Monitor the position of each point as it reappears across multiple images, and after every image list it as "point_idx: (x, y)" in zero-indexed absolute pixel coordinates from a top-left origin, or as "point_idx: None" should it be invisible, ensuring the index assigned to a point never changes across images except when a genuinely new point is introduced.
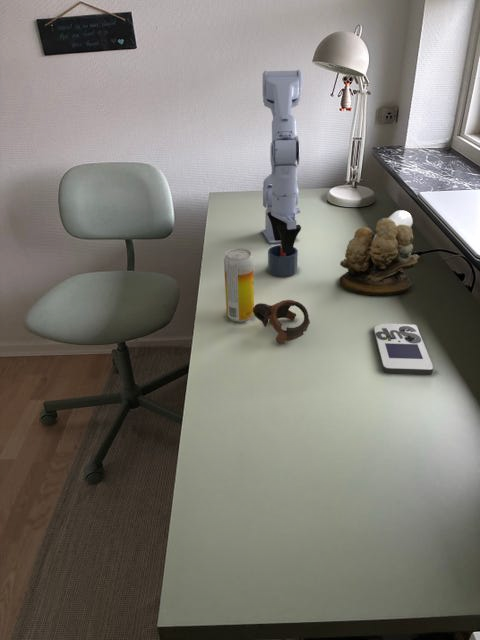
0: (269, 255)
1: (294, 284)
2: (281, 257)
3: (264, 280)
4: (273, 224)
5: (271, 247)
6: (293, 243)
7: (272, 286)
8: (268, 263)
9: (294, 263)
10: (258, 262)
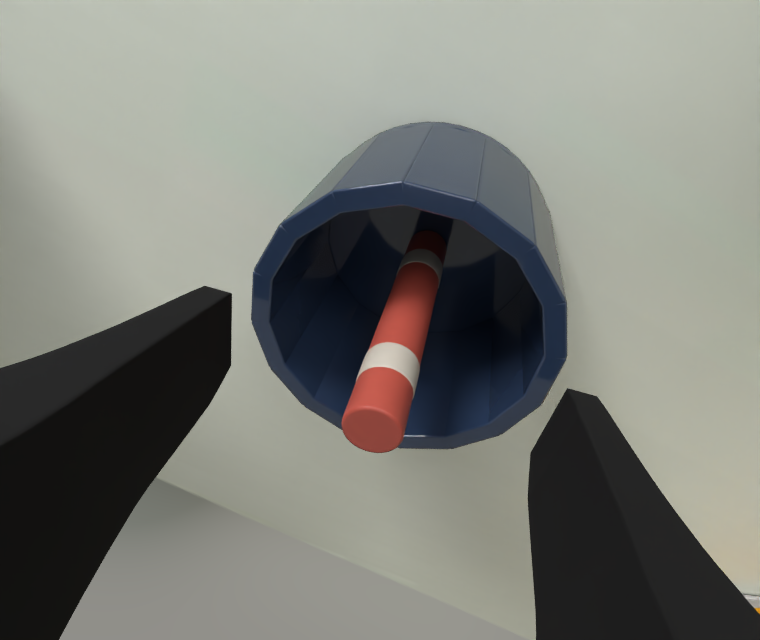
0: None
1: (688, 285)
2: (522, 416)
3: None
4: (98, 555)
5: (282, 377)
6: (660, 499)
7: None
8: None
9: (554, 247)
10: (245, 310)
